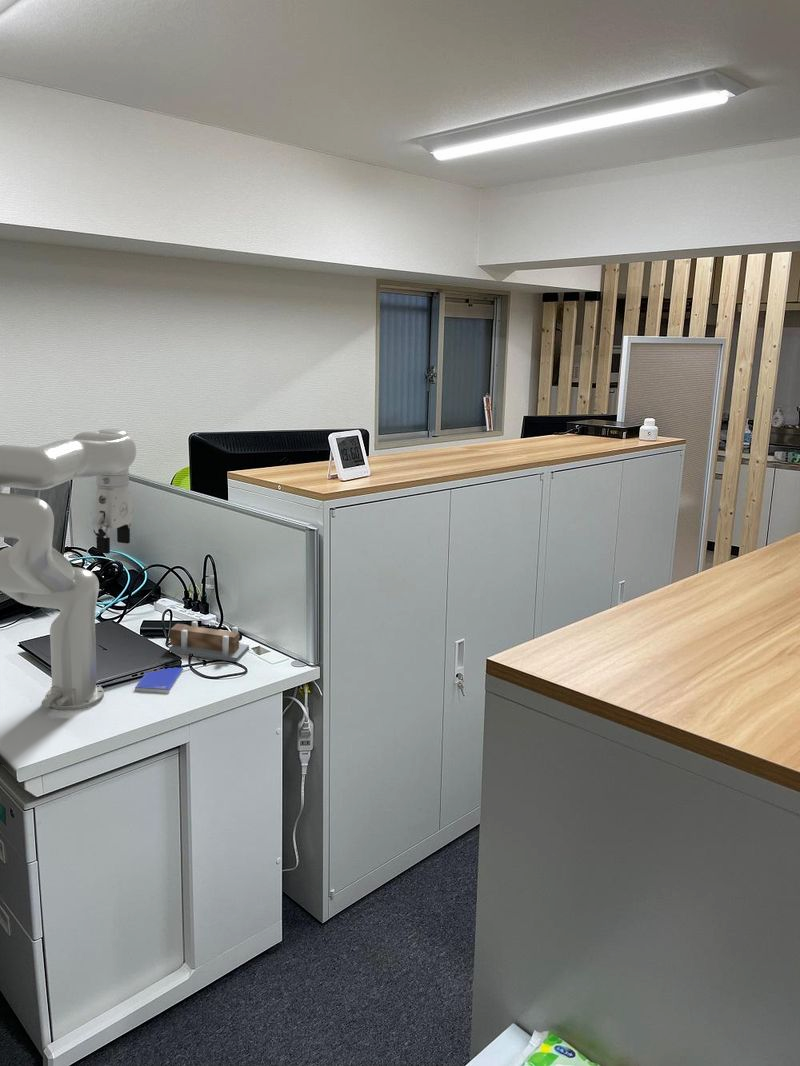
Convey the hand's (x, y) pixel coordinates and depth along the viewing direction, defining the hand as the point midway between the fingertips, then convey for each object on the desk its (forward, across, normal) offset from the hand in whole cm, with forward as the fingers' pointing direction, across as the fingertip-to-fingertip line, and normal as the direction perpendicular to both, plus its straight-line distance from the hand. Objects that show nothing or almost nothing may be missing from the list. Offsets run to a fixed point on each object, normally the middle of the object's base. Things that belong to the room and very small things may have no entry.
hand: (113, 547), depth 197 cm
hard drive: (+31, -7, -16) cm, 36 cm away
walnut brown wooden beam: (+29, +13, -19) cm, 37 cm away
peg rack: (+30, +14, -20) cm, 39 cm away
